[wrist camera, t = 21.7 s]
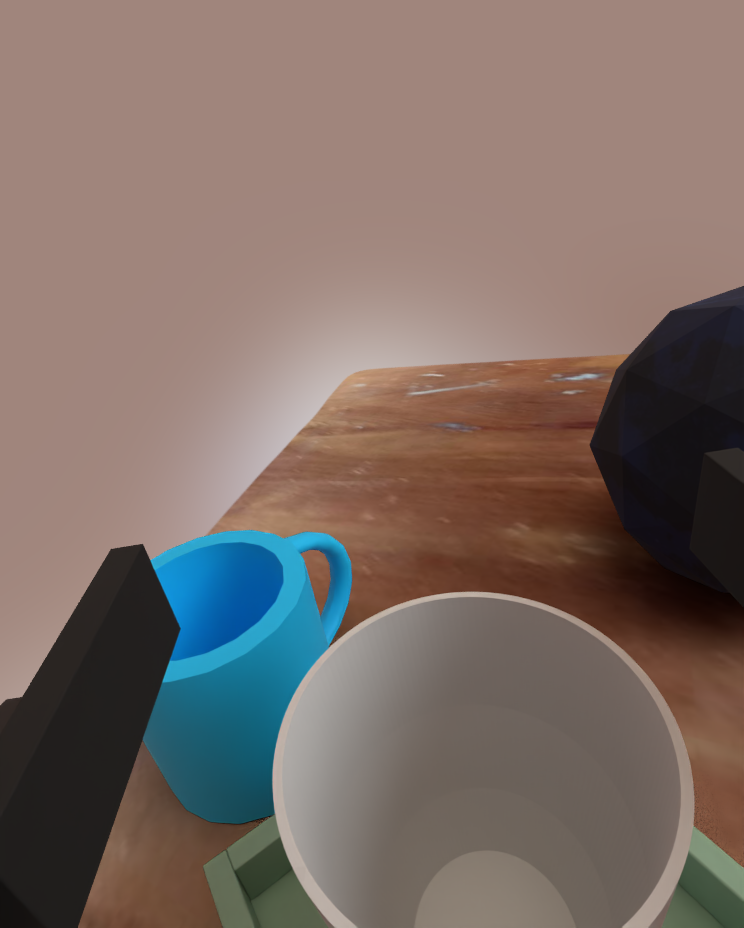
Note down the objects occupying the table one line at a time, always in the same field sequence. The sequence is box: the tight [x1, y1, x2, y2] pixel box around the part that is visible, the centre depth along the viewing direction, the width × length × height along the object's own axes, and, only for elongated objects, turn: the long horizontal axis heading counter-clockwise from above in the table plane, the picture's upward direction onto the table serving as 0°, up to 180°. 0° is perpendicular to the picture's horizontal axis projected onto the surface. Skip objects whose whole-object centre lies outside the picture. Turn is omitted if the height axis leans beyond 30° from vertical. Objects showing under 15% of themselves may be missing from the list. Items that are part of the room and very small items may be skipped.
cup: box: [273, 592, 694, 928], centre depth 14 cm, size 8×8×10 cm
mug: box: [143, 530, 352, 824], centre depth 24 cm, size 12×8×8 cm
